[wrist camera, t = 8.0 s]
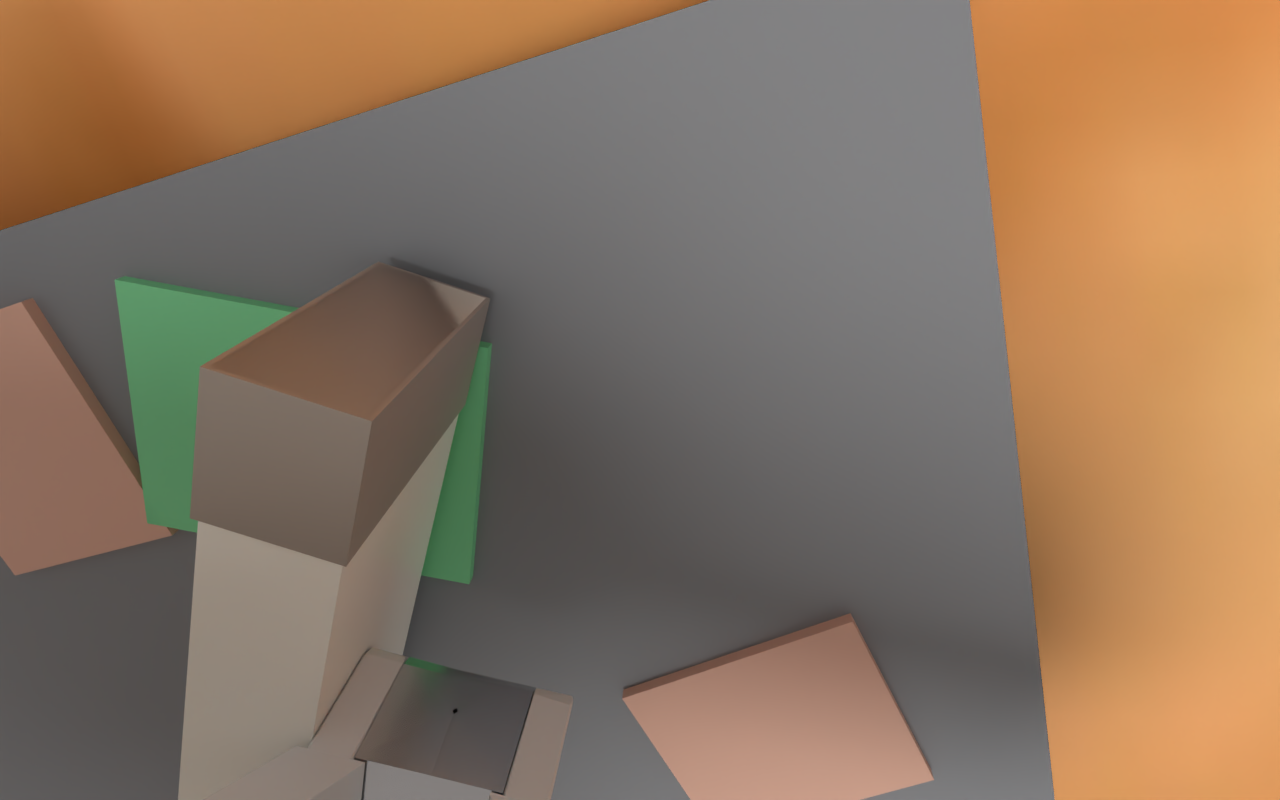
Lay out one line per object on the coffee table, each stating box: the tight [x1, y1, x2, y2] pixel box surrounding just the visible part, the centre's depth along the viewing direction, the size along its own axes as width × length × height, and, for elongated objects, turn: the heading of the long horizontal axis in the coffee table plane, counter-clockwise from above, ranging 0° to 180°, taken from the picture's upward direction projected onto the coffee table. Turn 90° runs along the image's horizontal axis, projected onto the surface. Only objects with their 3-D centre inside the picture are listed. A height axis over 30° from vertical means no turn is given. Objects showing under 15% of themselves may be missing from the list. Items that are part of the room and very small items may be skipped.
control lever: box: [178, 262, 490, 800], centre depth 11 cm, size 15×4×4 cm, turn 163°
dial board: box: [0, 0, 1054, 800], centre depth 14 cm, size 24×18×2 cm
